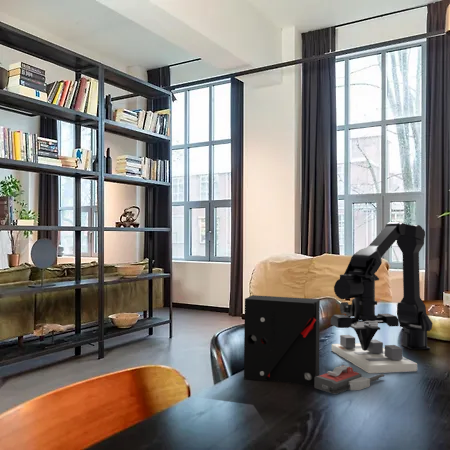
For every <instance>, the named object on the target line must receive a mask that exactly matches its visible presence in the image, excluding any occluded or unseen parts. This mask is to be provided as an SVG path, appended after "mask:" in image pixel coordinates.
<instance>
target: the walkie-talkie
mask: <svg viewBox="0 0 450 450" xmlns="http://www.w3.org/2000/svg"><path fill="white" fill-rule="evenodd" d="M383 377H385V374H384V373H378V374H376V375H375V376H374V375H373V376H372V377H365V376H363V374H362V373H360V372H358V371H354V369H353V367H352V366H348V365H344V364H343V365H340V366H336V367H334V369H333V370H332V371H331V370H328V371H327V372H325V373H323V374H319V376H316V377H314V386H313V387H314V389H317V390H320V391H323V392H326V393H330V394H335V395H337V393H338V394H340V393H343V392H346V391H348V390H349V391H361V390H363V389H365V388H369V387H370V386H371V383H373V382H376V381H378V380H379V379H381V378H383ZM345 390H346V391H345Z"/></svg>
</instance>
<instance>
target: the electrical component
mask: <svg viewBox="0 0 450 450" xmlns="http://www.w3.org/2000/svg"><path fill="white" fill-rule="evenodd" d="M320 300H321V299H320V298H308V297H307V298H305V297H288V296H272V295H271V296H270V295H253V294H252V295H251V296H249V297H246V298H244V330H243V331H244V336H243V337H244V338H243V339H244V341H243V345H244V347H243V348H244V349H243V350H244V351H243V353H244V354H243V380H247V381H248V380H249V381H257V382H258V381H259V382H261V381H268V382H278V383H286V384H295V385H303V386H311V387H314V377H316V376H320V325H321V324H320V322H321V321H320V317H321V316H320V315H321V314H320V308H321V307H320V305H321V304H320Z"/></svg>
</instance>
